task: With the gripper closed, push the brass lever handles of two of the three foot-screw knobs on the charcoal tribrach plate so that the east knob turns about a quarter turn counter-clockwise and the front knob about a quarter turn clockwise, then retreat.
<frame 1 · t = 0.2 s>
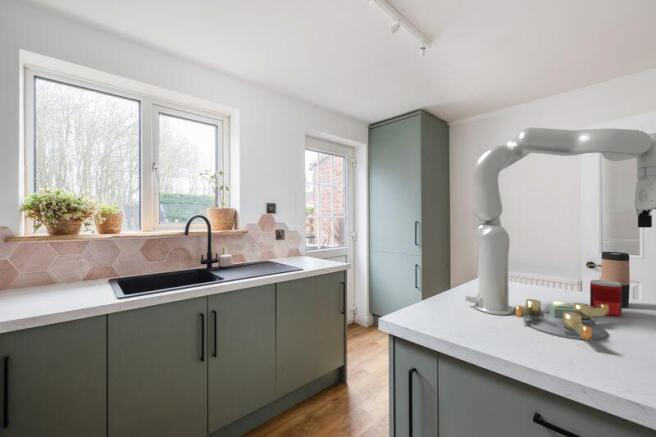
hand: (655, 228, 89), 30 cm above the worktop, fingers open, 9 cm apart
canned food: (605, 313, 100), on the worktop
knob A: (591, 310, 91), point 4 cm above the worktop, hinge at 0.0°
knob C: (527, 308, 93), point 4 cm above the worktop, hinge at 0.0°
knob B: (578, 325, 79), point 4 cm above the worktop, hinge at 0.0°
travel mug: (615, 305, 109), on the worktop
tribrach: (561, 326, 89), on the worktop
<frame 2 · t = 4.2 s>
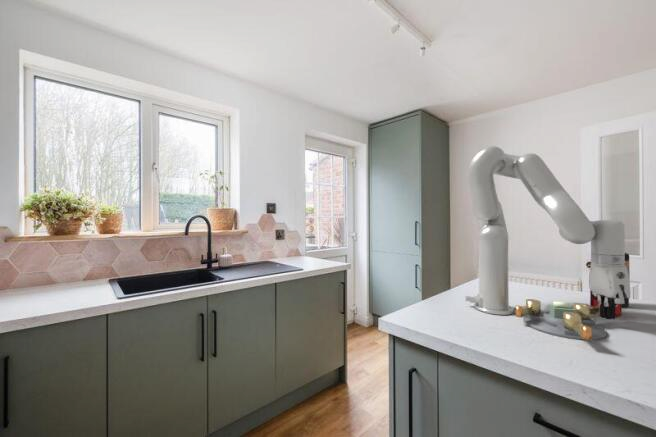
hand: (607, 317, 89), 3 cm above the worktop, fingers closed
knob A: (591, 310, 91), point 4 cm above the worktop, hinge at 3.1°, touching gripper
everything else where it was.
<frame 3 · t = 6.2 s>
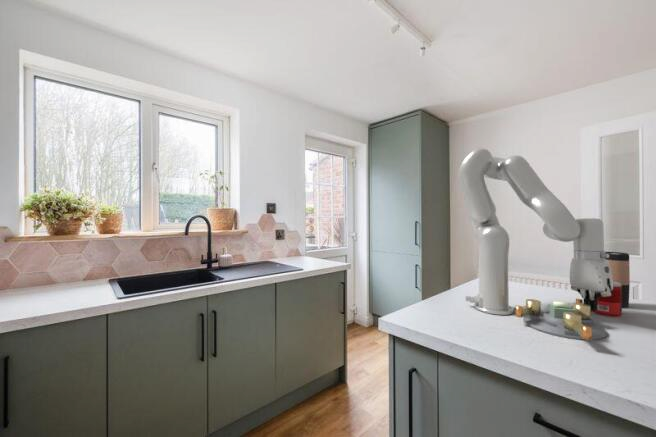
hand: (590, 310, 94), 3 cm above the worktop, fingers closed
knob A: (580, 307, 93), point 4 cm above the worktop, hinge at 43.9°, touching gripper
everything else where it was.
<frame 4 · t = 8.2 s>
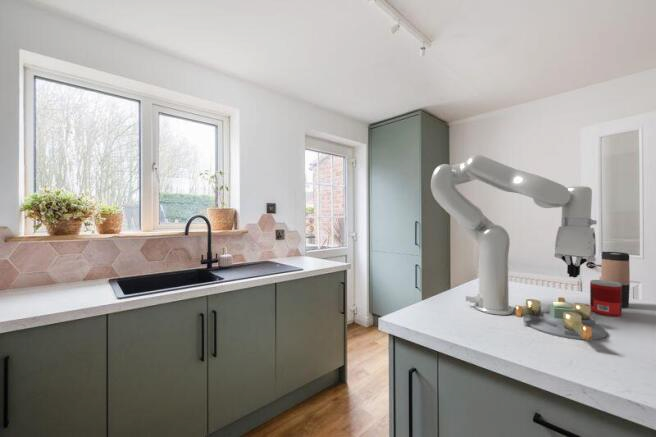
hand: (573, 276, 97), 14 cm above the worktop, fingers closed
knob A: (572, 307, 94), point 4 cm above the worktop, hinge at 77.0°
everything else where it was.
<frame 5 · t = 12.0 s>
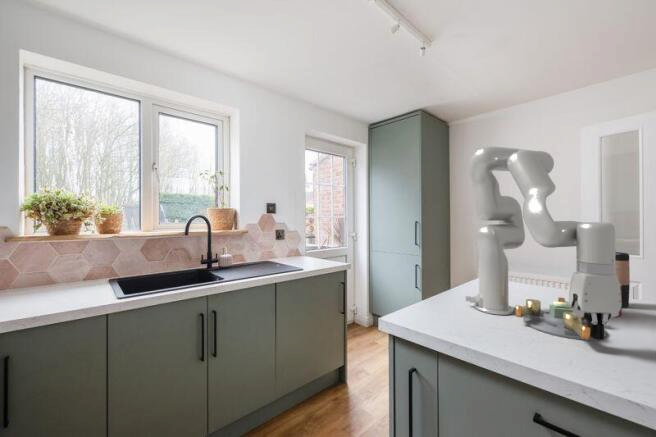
hand: (595, 337, 75), 2 cm above the worktop, fingers closed
knob B: (577, 325, 79), point 4 cm above the worktop, hinge at -1.5°, touching gripper
everything else where it was.
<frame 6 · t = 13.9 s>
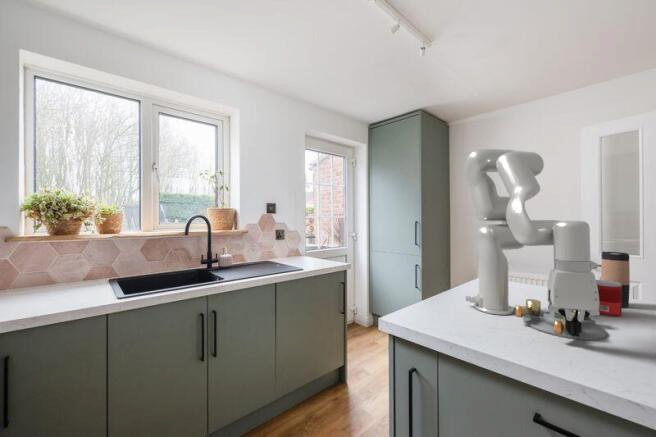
hand: (573, 334, 76), 3 cm above the worktop, fingers closed
knob B: (566, 323, 80), point 4 cm above the worktop, hinge at -39.5°, touching gripper
everything else where it was.
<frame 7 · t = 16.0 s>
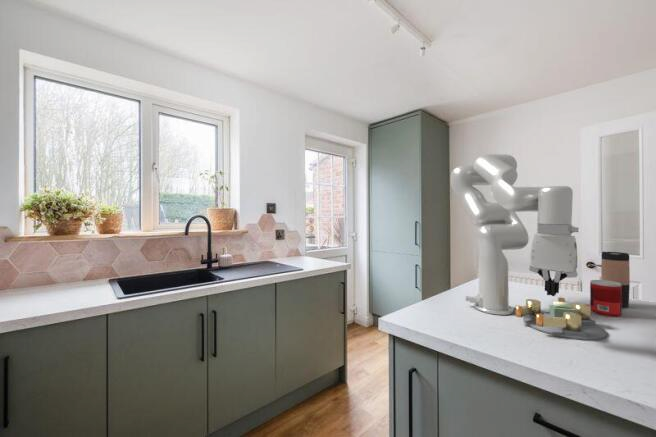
hand: (551, 294, 81), 13 cm above the worktop, fingers closed
knob B: (558, 320, 83), point 4 cm above the worktop, hinge at -76.8°
everything else where it was.
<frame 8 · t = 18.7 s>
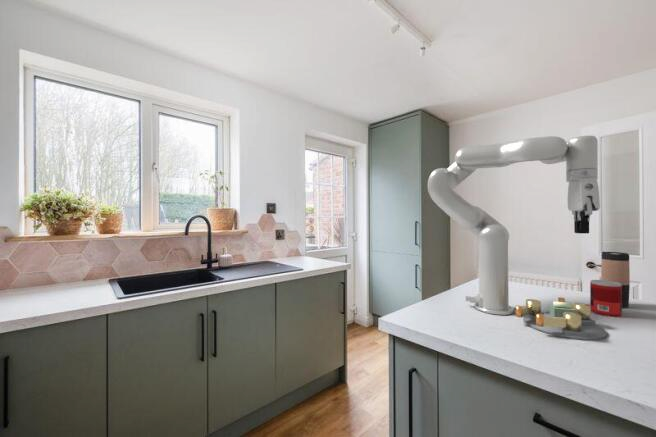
hand: (581, 233, 91), 29 cm above the worktop, fingers closed
nothing on the worktop moved.
at the end: knob A at +77° (first picture: +0°); knob B at -77° (first picture: +0°) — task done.
